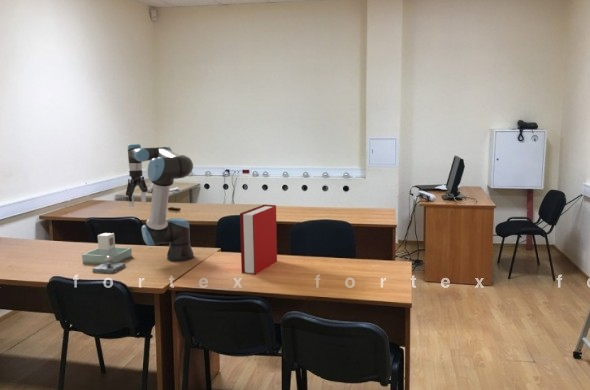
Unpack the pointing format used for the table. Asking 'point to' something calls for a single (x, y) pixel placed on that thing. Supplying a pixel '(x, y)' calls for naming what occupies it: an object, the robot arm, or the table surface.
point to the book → (258, 238)
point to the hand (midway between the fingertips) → (137, 204)
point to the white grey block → (106, 244)
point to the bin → (95, 258)
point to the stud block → (108, 266)
